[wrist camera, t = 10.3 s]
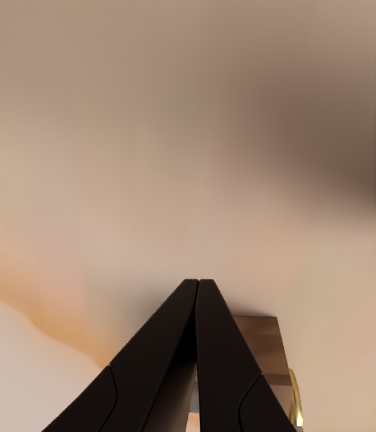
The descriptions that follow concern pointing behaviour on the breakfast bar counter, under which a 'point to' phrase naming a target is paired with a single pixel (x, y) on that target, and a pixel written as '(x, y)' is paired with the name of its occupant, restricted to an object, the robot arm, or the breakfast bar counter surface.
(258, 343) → the block
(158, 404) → the robot arm
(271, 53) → the breakfast bar counter surface
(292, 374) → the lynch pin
